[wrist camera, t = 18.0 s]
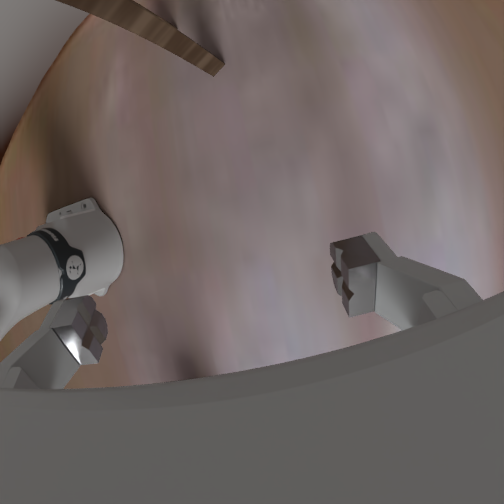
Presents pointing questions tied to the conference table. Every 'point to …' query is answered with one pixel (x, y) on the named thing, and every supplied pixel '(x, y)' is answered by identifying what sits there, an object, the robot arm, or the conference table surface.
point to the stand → (150, 29)
